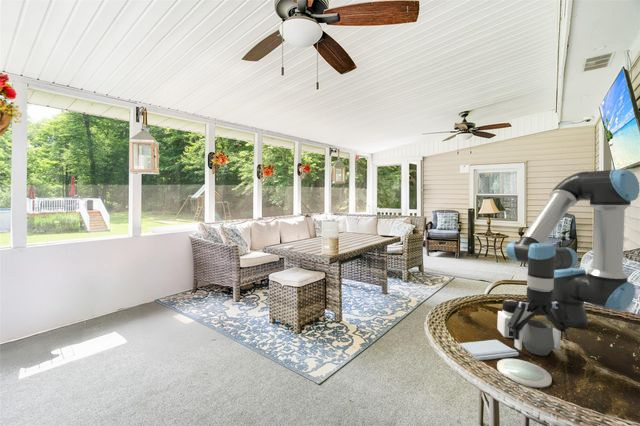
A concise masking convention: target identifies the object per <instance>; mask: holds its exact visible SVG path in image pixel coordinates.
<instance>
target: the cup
mask: <svg viewBox="0 0 640 426" xmlns="http://www.w3.org/2000/svg"><path fill="white" fill-rule="evenodd" d="M522 345H524V348H525V349H526V350H527V351H528V352H529V353H530V354H533V355H537V356H543V357H544V356H549V354H550V353H551V351H552V350H553V349H554V338H553V327H552V325H551V324H550V323H548V322H545V321H543V320H537V319H530V320H529V321H528V322H527V323H526V324H525V325H524V328H523V332H522Z"/></svg>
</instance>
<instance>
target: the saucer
mask: <svg viewBox="0 0 640 426" xmlns="http://www.w3.org/2000/svg"><path fill="white" fill-rule="evenodd" d="M496 369H497V371H498V373H500V374H501V373H502V374H503V375H505V376H506V377H508V378H510V379H513V380H515V381H517V382H519V383H521V384H524V385H523V386H525V385H527V387H530V388H547V387H549V386H550V385H552V381H553V378H552V375H551V374H550V373H549V372H548V371H547V370H546V369H544V368H542V367H541V366H539V365H536V364H534V363H532V362H529V361H525V360H523V359H516V358H501V359H500V360H498V361H497V363H496ZM502 374H501V375H502ZM503 375H502V376H503ZM506 377H505V378H506ZM521 384H520V385H521Z"/></svg>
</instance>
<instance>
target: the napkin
mask: <svg viewBox="0 0 640 426" xmlns="http://www.w3.org/2000/svg"><path fill="white" fill-rule="evenodd" d="M458 344H459V345H460V346H461V347H462V348H464V349H465V350H466V351H467V352H468V353H470V354H471V355H472V356H473V357H472V356H471V355H470V354H469V355H470V356H471V357H472V358H474V357H475V358H476V359H478V360H477V361H484V360H485V361H486V360H494V359H505V358H510V357H511V358H513V357H519V354H520V353H519V352H518V350H516V349H514V348H511V347H509V346H508V345H506V344H504V343H503V342H501V341H500V340H498V339H488V340H479V341H468V342H459V343H458ZM467 352H466V353H467ZM468 353H467V354H468ZM475 358H474V359H475ZM476 359H475V360H476Z"/></svg>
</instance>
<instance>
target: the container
mask: <svg viewBox="0 0 640 426" xmlns="http://www.w3.org/2000/svg"><path fill="white" fill-rule="evenodd" d="M517 304H518V301H516V300H513V299H512V300H511V299H506V300H503V301H502V311H501V310H498V311H497V323H496V324H497V331H499V333H500V334H501V336H503V337H504V338H510V339H514V338H513V329H511V328H510V327H508V323H509V321H510V319H511V317H512V315H513V313H514V312H515V310H516V308H517ZM523 328H524V327H523ZM523 328H522V329H521V331H522V332H523Z"/></svg>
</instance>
